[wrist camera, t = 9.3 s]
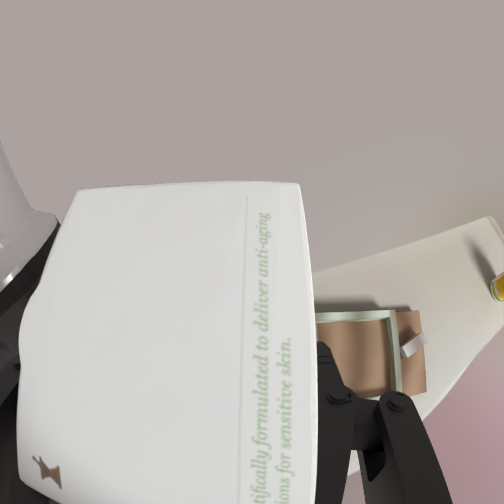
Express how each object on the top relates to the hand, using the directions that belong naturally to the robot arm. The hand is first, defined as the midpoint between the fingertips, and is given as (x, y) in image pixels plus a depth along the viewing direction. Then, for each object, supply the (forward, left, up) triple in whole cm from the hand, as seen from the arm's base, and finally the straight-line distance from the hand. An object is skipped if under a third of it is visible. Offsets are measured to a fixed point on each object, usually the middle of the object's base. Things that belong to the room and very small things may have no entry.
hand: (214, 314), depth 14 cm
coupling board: (+16, -1, -23) cm, 28 cm away
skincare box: (0, -4, -6) cm, 7 cm away
